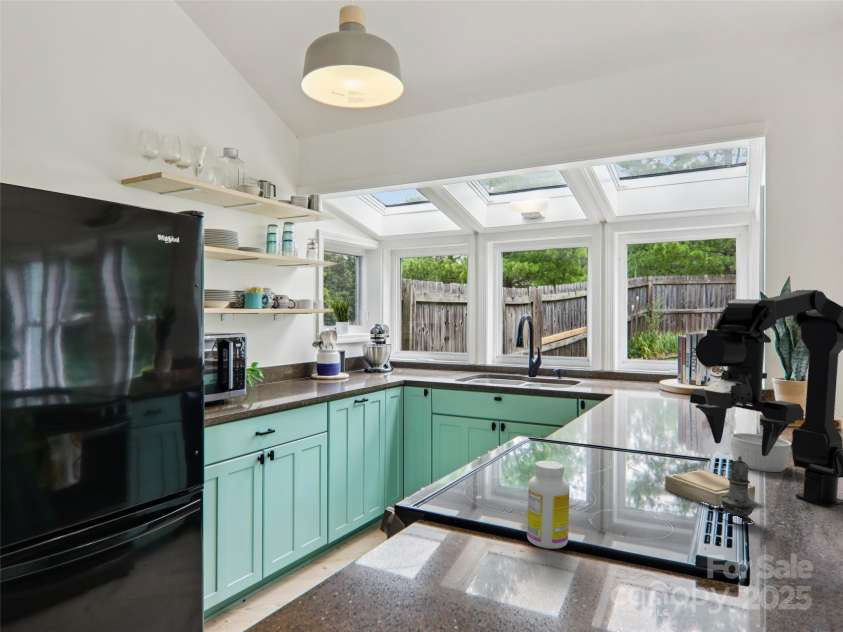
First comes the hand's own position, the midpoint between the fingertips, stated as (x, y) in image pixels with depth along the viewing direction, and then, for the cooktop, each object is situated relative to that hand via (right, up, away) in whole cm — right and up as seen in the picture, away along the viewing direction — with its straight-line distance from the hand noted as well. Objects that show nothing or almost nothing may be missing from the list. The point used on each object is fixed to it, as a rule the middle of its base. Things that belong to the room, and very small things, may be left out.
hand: (740, 449), depth 104 cm
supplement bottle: (-39, -13, -12) cm, 43 cm away
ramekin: (+26, -13, +37) cm, 47 cm away
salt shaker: (-1, -13, 0) cm, 13 cm away
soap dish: (+1, -13, +13) cm, 18 cm away
